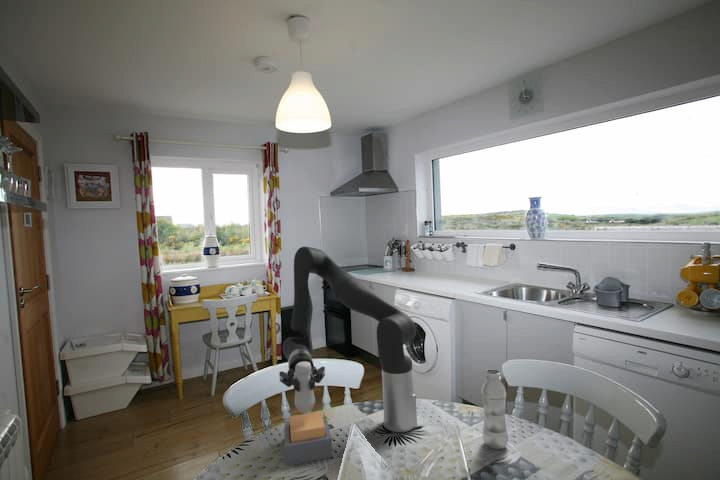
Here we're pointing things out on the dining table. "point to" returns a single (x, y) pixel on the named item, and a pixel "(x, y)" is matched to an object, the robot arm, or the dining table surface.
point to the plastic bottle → (494, 411)
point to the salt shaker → (304, 388)
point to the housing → (308, 447)
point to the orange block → (306, 426)
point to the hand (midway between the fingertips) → (304, 387)
